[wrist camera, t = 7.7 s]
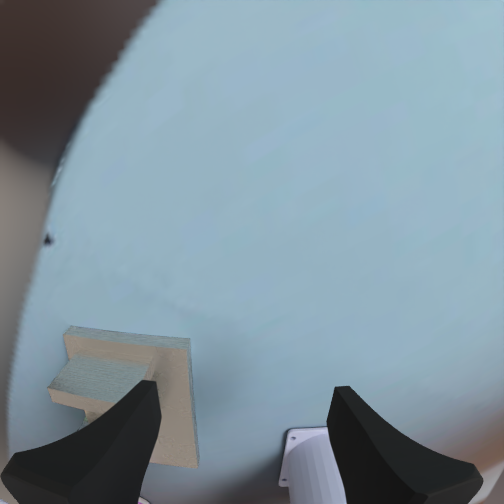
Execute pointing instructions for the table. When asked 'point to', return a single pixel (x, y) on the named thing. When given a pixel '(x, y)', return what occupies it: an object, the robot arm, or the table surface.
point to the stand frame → (132, 383)
